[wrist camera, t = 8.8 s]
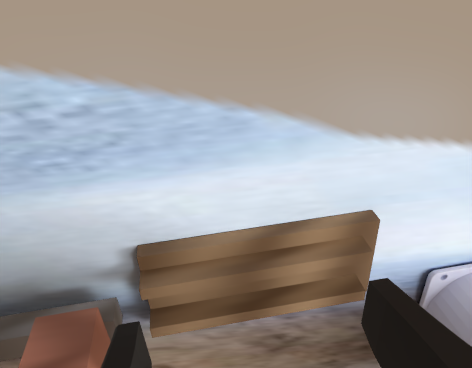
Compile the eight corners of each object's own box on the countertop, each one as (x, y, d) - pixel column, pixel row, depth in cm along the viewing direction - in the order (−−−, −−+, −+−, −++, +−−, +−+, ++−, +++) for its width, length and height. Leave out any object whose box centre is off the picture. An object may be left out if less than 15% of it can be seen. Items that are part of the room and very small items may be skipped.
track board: (372, 210, 23) (392, 235, 21) (360, 280, 26) (376, 307, 24) (137, 245, 21) (135, 276, 19) (155, 315, 24) (155, 348, 22)
